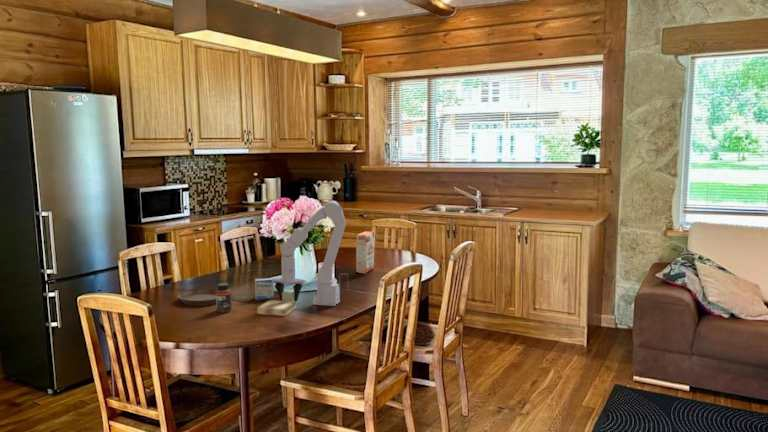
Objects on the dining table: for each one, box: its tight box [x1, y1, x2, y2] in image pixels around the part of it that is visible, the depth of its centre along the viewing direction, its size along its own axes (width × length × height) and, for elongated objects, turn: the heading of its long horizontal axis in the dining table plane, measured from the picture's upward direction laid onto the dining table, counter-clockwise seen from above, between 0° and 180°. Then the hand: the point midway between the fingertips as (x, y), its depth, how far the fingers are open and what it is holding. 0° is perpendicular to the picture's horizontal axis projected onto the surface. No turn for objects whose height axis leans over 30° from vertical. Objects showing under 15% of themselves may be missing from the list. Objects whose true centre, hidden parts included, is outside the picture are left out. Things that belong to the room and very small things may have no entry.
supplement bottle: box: [215, 282, 233, 314], centre depth 238 cm, size 6×6×11 cm
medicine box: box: [254, 277, 275, 301], centre depth 258 cm, size 8×4×9 cm, turn 105°
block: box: [282, 289, 297, 303], centre depth 249 cm, size 4×4×6 cm
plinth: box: [256, 299, 297, 317], centre depth 239 cm, size 12×12×3 cm
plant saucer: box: [177, 287, 218, 306], centre depth 255 cm, size 21×21×3 cm
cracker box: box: [355, 231, 375, 274], centre depth 310 cm, size 14×6×21 cm, turn 163°
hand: (289, 300), depth 249 cm, fingers open, 6 cm apart
